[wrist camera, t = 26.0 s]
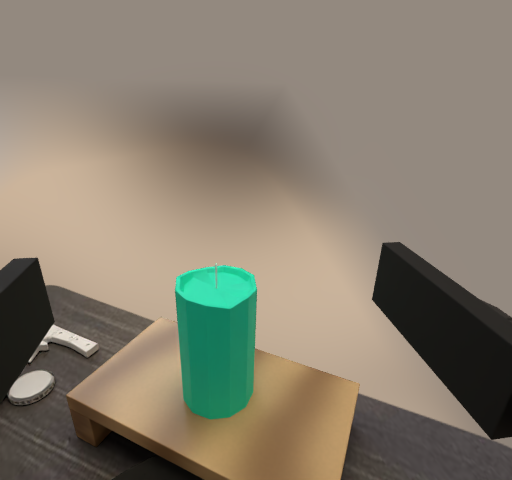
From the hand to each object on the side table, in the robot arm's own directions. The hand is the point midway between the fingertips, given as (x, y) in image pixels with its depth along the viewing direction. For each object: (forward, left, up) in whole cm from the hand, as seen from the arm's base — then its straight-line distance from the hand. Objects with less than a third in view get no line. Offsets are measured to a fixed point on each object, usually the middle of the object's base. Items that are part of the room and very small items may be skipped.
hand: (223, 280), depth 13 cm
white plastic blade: (+27, -18, -21) cm, 38 cm away
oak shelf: (+3, -9, -21) cm, 23 cm away
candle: (+3, -10, -16) cm, 19 cm away
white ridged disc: (+22, -11, -21) cm, 33 cm away
